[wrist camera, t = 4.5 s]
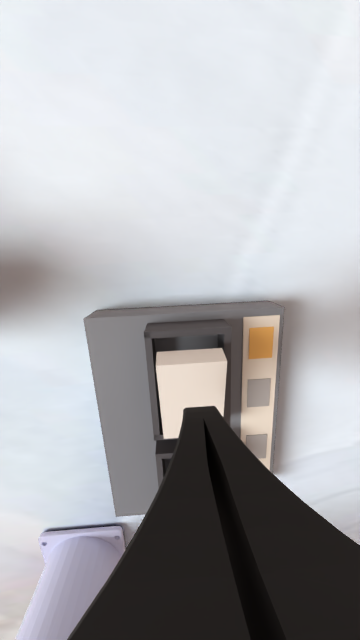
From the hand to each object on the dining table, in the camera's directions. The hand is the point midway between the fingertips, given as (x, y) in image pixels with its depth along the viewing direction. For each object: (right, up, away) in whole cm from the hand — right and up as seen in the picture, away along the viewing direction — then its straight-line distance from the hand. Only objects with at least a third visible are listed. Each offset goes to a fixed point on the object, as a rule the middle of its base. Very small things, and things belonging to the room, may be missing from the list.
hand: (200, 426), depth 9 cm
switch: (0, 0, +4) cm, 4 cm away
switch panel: (0, -3, +10) cm, 10 cm away
